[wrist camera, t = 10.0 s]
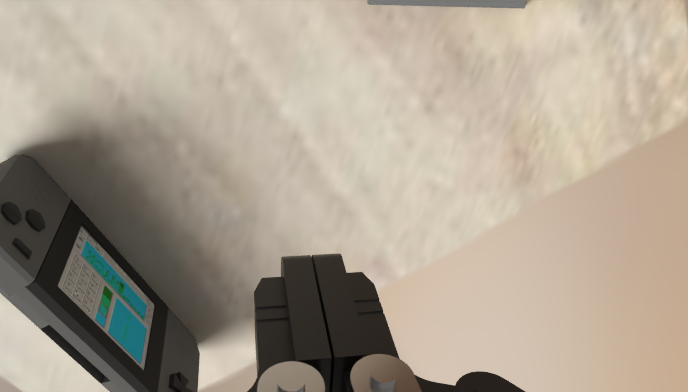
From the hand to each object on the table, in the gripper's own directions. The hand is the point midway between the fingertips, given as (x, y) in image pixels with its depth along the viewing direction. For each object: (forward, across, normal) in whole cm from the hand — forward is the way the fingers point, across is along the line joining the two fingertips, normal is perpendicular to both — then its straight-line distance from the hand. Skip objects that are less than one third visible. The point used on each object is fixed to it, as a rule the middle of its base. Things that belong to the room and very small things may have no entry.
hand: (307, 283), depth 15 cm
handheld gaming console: (+29, +12, +20) cm, 38 cm away
